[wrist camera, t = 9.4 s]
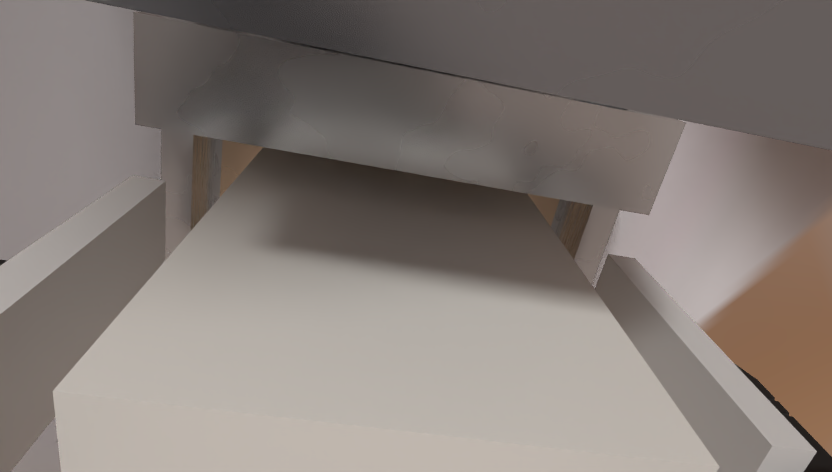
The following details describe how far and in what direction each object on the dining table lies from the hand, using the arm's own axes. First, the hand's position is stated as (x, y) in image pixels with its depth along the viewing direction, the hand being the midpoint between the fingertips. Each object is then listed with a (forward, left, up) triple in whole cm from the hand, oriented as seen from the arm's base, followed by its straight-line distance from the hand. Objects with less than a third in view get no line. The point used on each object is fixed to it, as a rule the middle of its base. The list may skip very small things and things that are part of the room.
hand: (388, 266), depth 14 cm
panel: (0, 0, -4) cm, 4 cm away
